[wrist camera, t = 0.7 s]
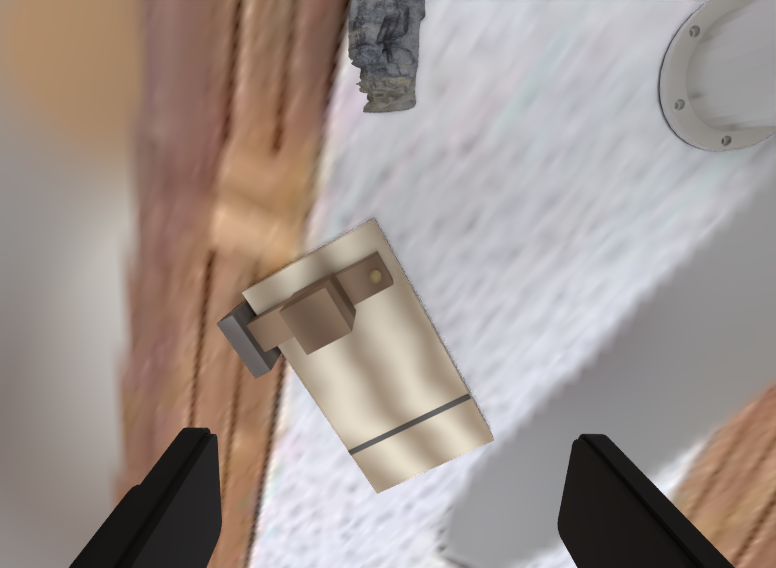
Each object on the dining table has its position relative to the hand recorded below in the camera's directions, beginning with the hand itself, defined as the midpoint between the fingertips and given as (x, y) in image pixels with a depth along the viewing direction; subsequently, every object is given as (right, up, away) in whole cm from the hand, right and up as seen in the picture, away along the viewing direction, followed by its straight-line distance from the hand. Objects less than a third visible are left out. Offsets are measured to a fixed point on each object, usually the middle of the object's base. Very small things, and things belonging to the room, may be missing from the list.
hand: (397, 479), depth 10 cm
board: (-2, -3, +30) cm, 30 cm away
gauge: (-7, +4, +28) cm, 29 cm away
